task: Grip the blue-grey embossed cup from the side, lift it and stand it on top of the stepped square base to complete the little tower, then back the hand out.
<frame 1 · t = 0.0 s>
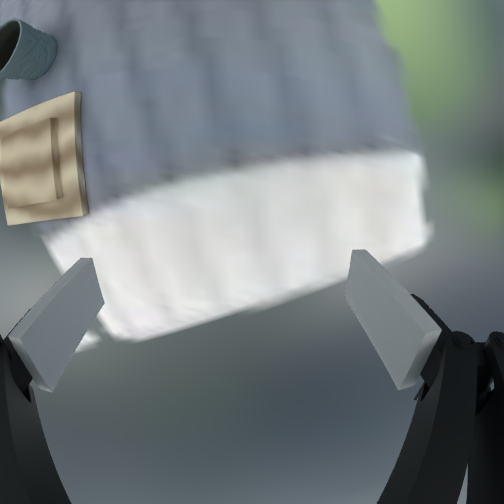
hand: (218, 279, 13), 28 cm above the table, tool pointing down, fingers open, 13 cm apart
stepped square base: (38, 162, 34), on the table
blue-grey embossed cup: (41, 58, 26), on the table
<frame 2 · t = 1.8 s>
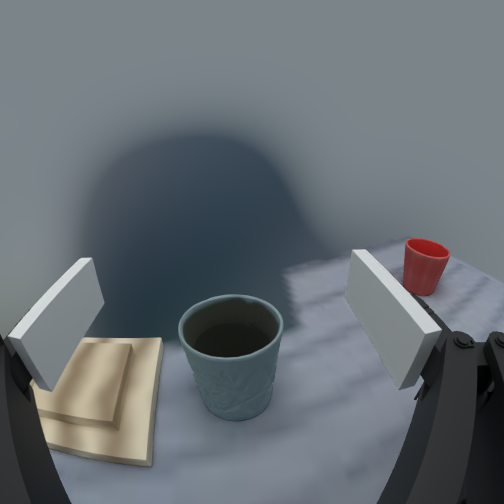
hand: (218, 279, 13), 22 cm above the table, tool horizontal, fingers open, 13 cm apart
flower pot: (418, 288, 53), on the table
stepped square base: (89, 394, 28), on the table
blue-grey embossed cup: (236, 396, 31), on the table
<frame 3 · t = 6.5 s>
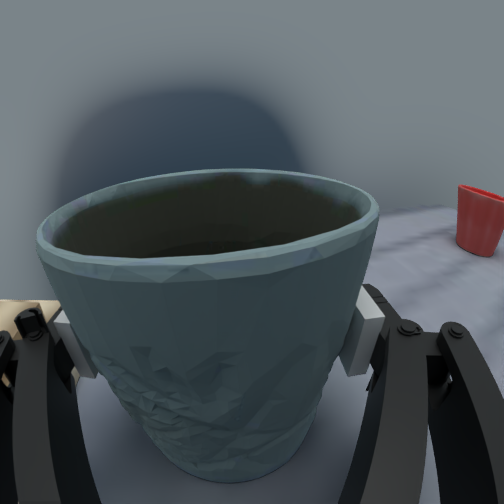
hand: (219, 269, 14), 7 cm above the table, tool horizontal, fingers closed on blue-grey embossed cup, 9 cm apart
flower pot: (474, 249, 35), on the table
blue-grey embossed cup: (227, 421, 13), on the table, touching gripper
when the fingers open (12 cm above the table, at t = 11.1 s): blue-grey embossed cup drops 1 cm, resting on stepped square base.
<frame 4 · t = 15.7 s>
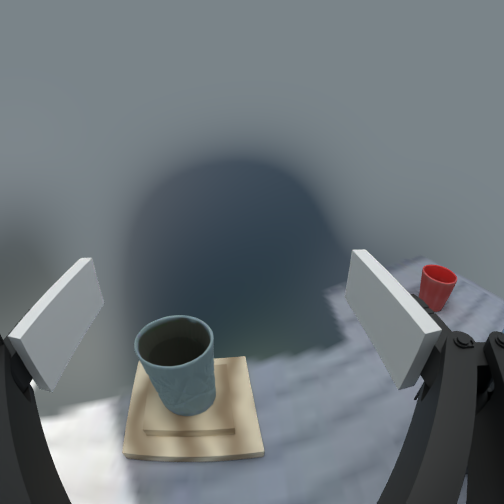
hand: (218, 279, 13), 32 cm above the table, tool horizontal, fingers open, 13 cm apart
flower pot: (430, 304, 63), on the table
stepped square base: (191, 409, 38), on the table
blue-grey embossed cup: (187, 396, 37), point 4 cm above the table, touching stepped square base
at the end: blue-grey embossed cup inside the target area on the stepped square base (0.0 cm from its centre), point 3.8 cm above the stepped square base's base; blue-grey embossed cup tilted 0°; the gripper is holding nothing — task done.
